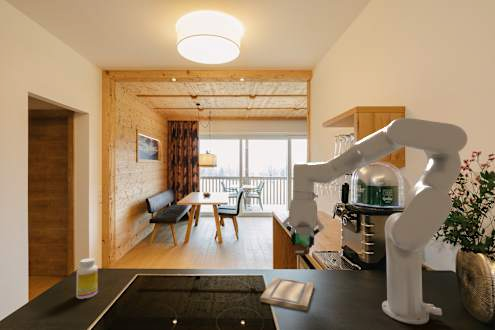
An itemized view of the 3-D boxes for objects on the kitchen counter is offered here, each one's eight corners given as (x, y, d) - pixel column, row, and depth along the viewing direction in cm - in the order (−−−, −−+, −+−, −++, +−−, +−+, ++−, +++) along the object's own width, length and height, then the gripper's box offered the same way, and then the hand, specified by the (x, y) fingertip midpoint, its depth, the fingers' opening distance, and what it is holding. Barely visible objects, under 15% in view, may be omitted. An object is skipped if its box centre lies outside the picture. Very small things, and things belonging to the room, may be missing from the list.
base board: (314, 287, 98) (314, 282, 98) (307, 310, 81) (307, 305, 82) (274, 280, 104) (274, 276, 104) (260, 301, 87) (260, 296, 88)
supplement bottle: (100, 294, 93) (100, 259, 93) (79, 301, 88) (79, 264, 88) (94, 289, 97) (94, 255, 98) (74, 295, 92) (74, 260, 93)
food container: (313, 258, 85) (314, 228, 86) (295, 256, 87) (295, 227, 87) (312, 247, 97) (312, 221, 98) (296, 246, 99) (296, 220, 99)
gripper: (328, 196, 93) (327, 246, 93) (283, 194, 99) (282, 240, 99) (326, 198, 86) (325, 252, 86) (277, 195, 92) (276, 245, 92)
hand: (302, 245), depth 92 cm, fingers closed on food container, 5 cm apart
